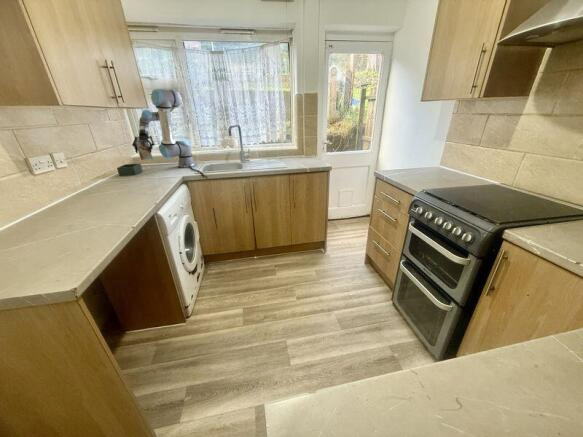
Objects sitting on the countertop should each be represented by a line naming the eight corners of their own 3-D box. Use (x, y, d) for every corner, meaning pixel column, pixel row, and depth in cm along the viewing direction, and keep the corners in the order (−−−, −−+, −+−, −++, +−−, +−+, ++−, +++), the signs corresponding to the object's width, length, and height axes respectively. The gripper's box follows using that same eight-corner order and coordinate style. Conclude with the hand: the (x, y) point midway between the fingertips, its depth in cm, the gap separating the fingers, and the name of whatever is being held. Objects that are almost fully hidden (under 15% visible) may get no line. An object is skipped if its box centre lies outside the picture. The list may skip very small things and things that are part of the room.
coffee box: (151, 157, 227) (146, 140, 220) (152, 158, 222) (147, 140, 215) (140, 159, 222) (135, 141, 215) (141, 160, 217) (136, 141, 210)
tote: (127, 172, 216) (125, 164, 213) (142, 171, 218) (140, 163, 215) (119, 176, 203) (116, 167, 200) (135, 175, 204) (133, 166, 202)
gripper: (158, 134, 230) (159, 153, 222) (131, 135, 225) (131, 155, 218) (155, 128, 223) (155, 148, 215) (128, 130, 218) (127, 150, 211)
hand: (143, 152), depth 216 cm, fingers closed on coffee box, 11 cm apart
